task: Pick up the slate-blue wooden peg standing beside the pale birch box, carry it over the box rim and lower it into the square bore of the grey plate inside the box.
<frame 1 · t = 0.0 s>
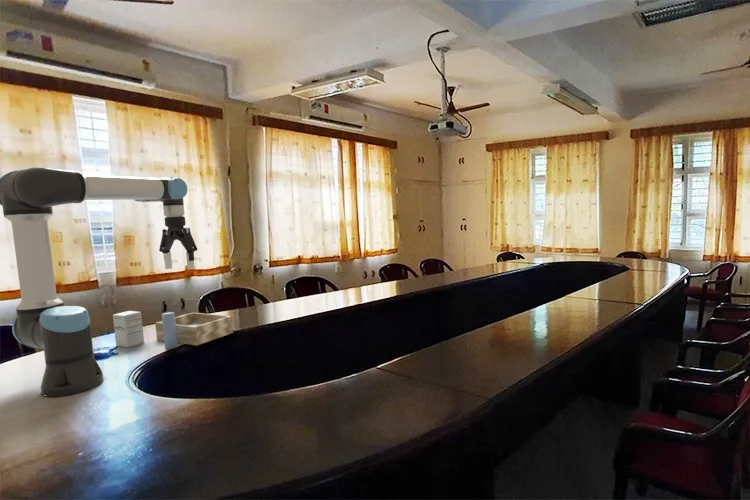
hand: (179, 269, 175), 28 cm above the table, tool pointing down, fingers open, 13 cm apart
crate: (195, 336, 178), on the table
peg: (171, 347, 164), on the table
supplement box: (130, 344, 171), on the table
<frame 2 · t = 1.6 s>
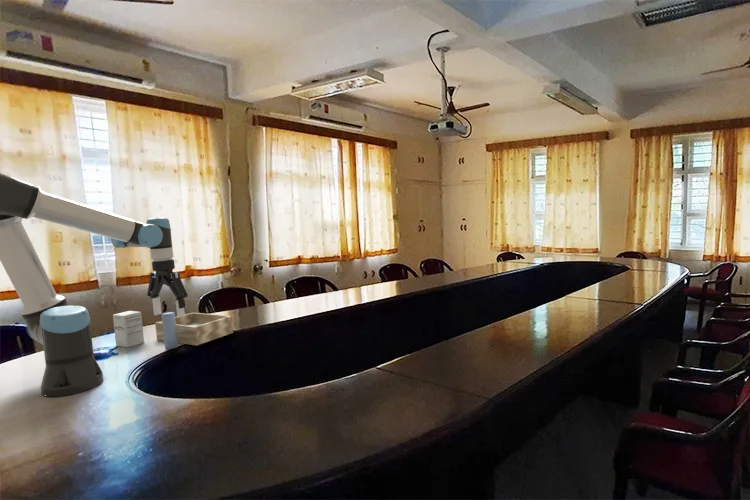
hand: (169, 315, 163), 12 cm above the table, tool pointing down, fingers open, 13 cm apart
nothing on the table moved.
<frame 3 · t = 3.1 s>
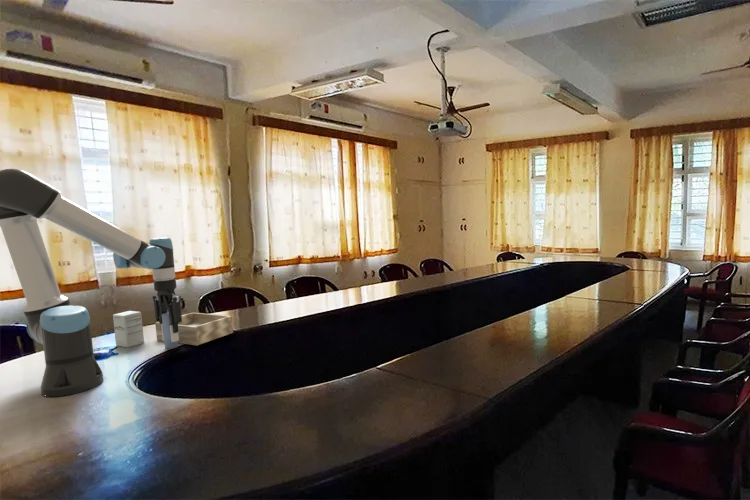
hand: (170, 340, 163), 3 cm above the table, tool pointing down, fingers closed on peg, 4 cm apart
peg: (171, 347, 164), on the table, touching gripper
everything else where it was.
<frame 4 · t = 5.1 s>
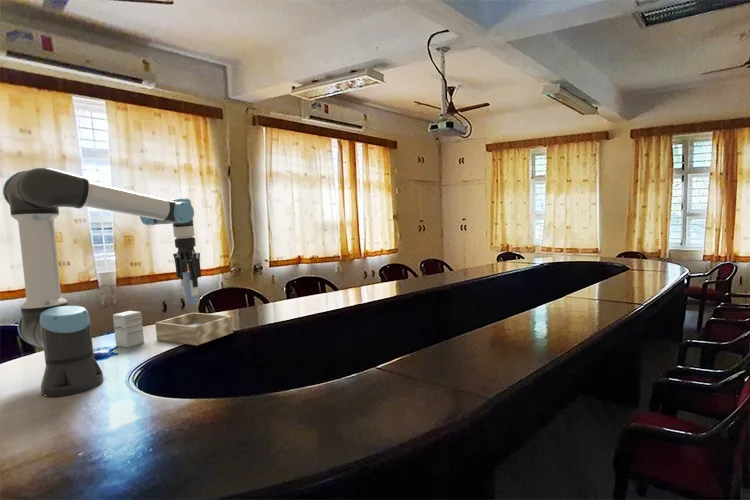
hand: (190, 294, 175), 17 cm above the table, tool pointing down, fingers closed on peg, 4 cm apart
peg: (191, 303, 176), point 14 cm above the table, touching gripper
everything else where it was.
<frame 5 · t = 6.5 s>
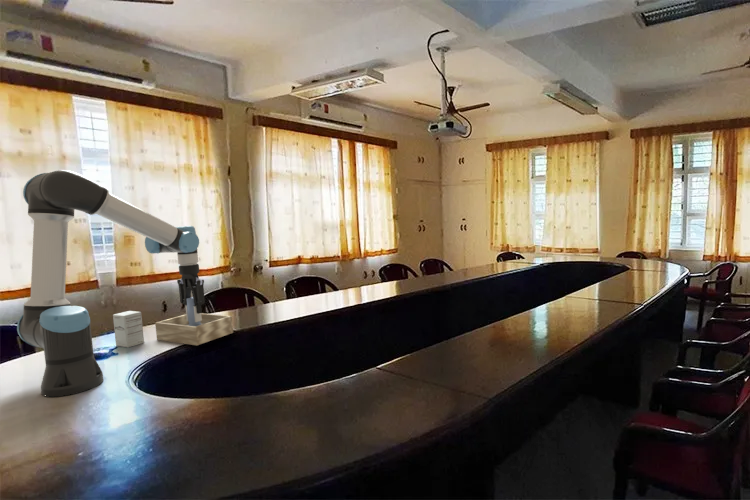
hand: (194, 320, 177), 6 cm above the table, tool pointing down, fingers closed on peg, 4 cm apart
peg: (195, 329, 178), point 3 cm above the table, touching gripper
everything else where it was.
when the fingers open (4 cm above the table, at t = 7.2 s): peg stays where it is, resting in crate.
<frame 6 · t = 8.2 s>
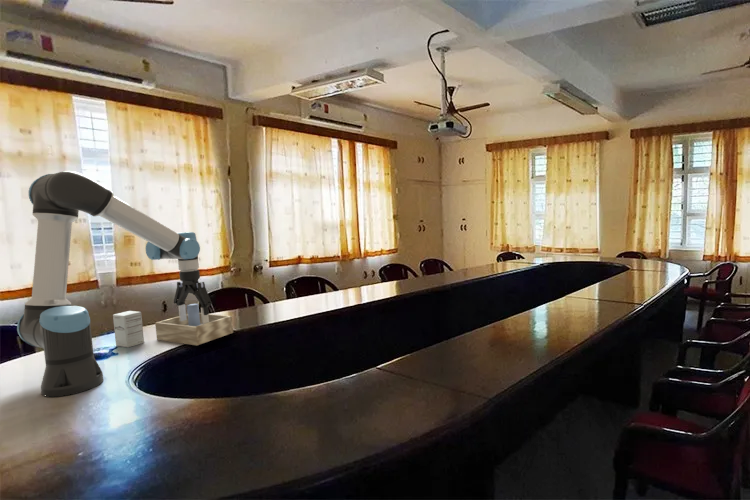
hand: (194, 321, 177), 6 cm above the table, tool pointing down, fingers open, 13 cm apart
peg: (195, 336, 178), resting in crate
everything else where it was.
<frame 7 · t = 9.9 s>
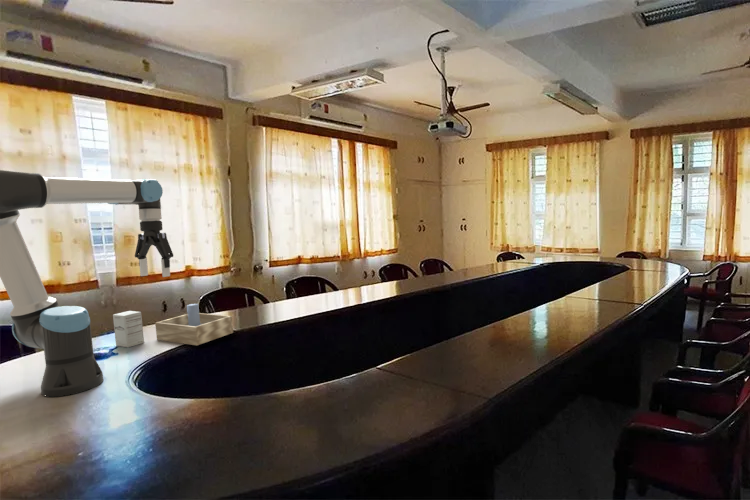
hand: (155, 276, 166), 27 cm above the table, tool pointing down, fingers open, 13 cm apart
nothing on the table moved.
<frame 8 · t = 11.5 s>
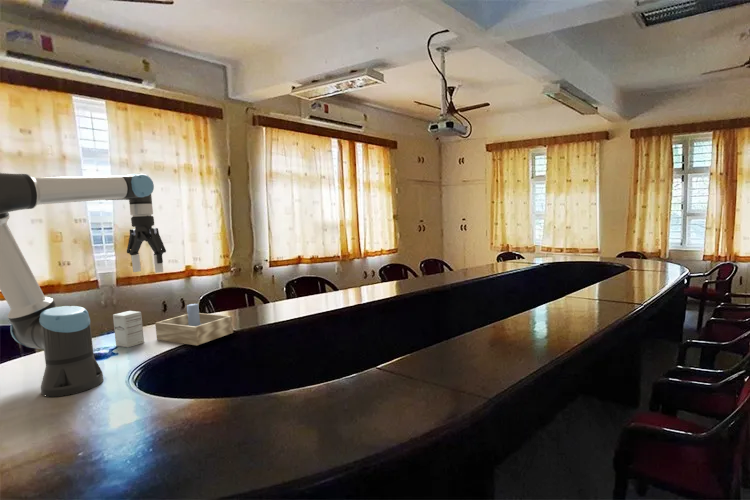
hand: (148, 272, 164), 29 cm above the table, tool pointing down, fingers open, 13 cm apart
nothing on the table moved.
at the end: peg 0.0 cm off-centre on the crate, point 0.0 cm above the crate's base; peg tilted 0°; the gripper is holding nothing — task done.
